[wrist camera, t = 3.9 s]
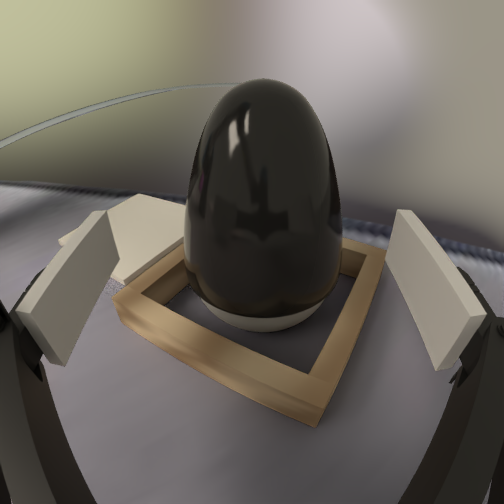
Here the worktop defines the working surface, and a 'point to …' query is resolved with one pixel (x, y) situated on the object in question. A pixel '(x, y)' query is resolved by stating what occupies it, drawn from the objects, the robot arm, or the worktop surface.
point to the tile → (142, 233)
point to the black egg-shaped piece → (263, 210)
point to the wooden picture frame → (239, 357)
